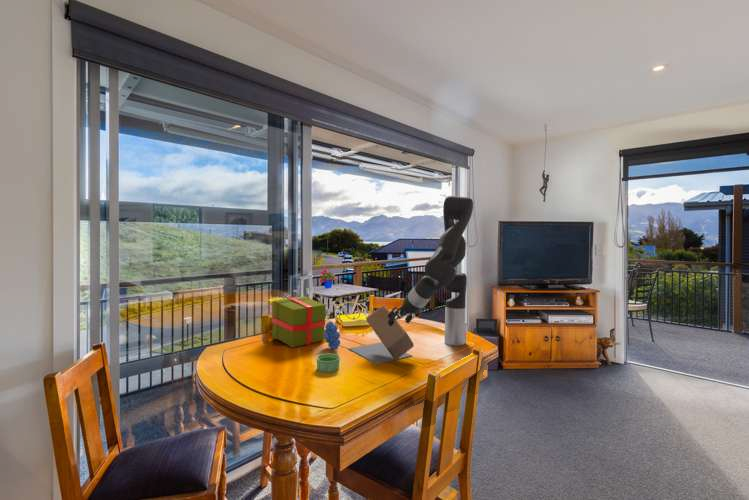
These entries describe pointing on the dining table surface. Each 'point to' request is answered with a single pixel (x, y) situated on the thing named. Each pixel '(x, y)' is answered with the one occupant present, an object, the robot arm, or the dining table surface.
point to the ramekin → (328, 362)
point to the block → (390, 333)
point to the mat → (376, 353)
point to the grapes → (332, 335)
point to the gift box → (298, 321)
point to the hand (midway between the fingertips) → (398, 322)
